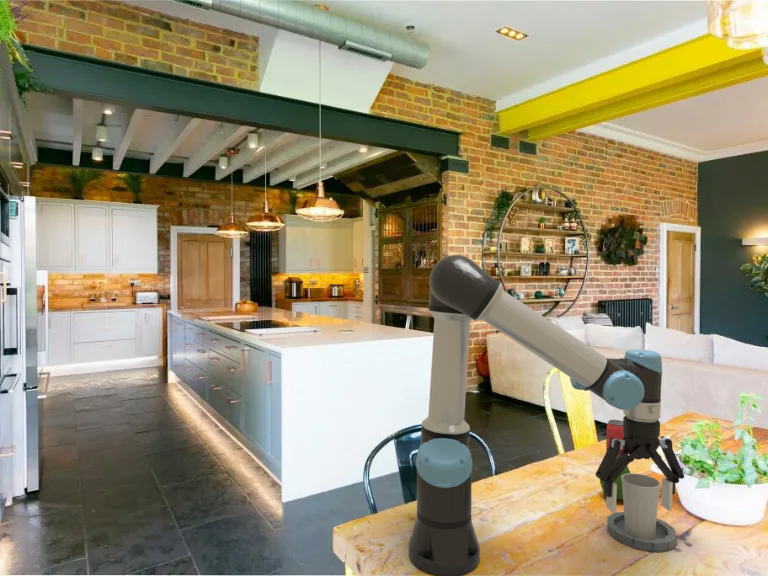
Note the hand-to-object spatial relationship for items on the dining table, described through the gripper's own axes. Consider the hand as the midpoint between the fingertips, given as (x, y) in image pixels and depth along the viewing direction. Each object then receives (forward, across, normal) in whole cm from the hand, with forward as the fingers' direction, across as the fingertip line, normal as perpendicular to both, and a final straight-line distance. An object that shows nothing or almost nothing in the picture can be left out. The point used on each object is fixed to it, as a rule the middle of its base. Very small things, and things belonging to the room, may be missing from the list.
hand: (638, 509), depth 113 cm
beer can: (+6, +22, +45) cm, 51 cm away
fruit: (+6, +6, +18) cm, 20 cm away
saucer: (+6, 0, 0) cm, 6 cm away
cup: (+5, 0, 0) cm, 5 cm away
